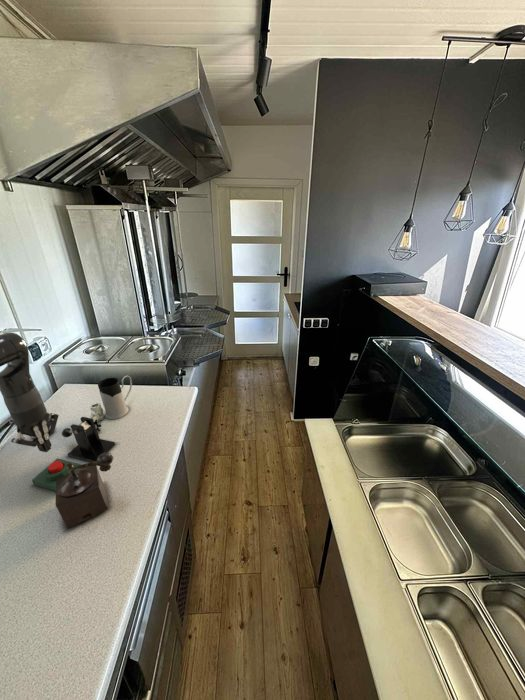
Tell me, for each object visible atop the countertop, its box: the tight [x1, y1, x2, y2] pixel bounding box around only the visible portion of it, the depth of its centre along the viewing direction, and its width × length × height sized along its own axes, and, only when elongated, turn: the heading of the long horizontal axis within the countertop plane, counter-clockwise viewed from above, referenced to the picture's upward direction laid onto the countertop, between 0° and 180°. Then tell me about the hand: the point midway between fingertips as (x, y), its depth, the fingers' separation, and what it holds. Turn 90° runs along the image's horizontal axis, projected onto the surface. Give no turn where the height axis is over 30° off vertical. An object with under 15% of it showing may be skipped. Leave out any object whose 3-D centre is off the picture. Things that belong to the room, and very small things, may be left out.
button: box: [47, 460, 63, 474], centre depth 90 cm, size 4×4×2 cm
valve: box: [89, 402, 105, 432], centre depth 113 cm, size 7×7×12 cm
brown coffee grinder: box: [55, 452, 114, 529], centre depth 80 cm, size 16×11×18 cm
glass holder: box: [97, 375, 133, 420], centre depth 120 cm, size 9×14×15 cm, turn 151°
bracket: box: [67, 416, 116, 463], centre depth 99 cm, size 12×9×13 cm
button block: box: [31, 457, 82, 492], centre depth 91 cm, size 11×9×4 cm
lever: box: [61, 421, 90, 438], centre depth 99 cm, size 13×3×3 cm, turn 72°
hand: (46, 450), depth 87 cm, fingers closed
